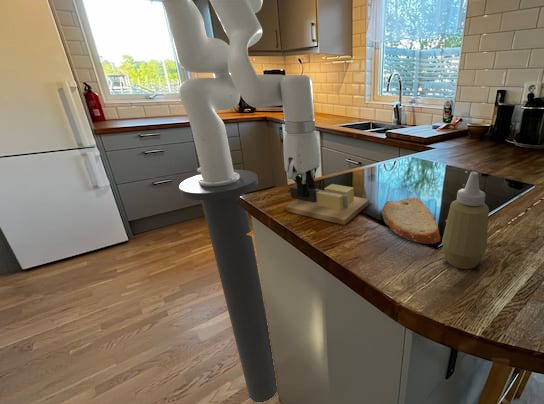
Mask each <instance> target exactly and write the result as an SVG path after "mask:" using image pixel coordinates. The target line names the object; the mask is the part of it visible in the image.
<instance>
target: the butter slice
mask: <svg viewBox="0 0 544 404" xmlns="http://www.w3.org/2000/svg"><path fill="white" fill-rule="evenodd" d="M323 191H324V190H323ZM323 191H319V192H317V200H318V206H322V207H326V208H331V209H336V210H342V209H343V195H339V194H334V193H329V192H323Z"/></svg>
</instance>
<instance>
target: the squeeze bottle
mask: <svg viewBox="0 0 544 404" xmlns="http://www.w3.org/2000/svg"><path fill="white" fill-rule="evenodd" d="M485 201H486V193H485V192H484V191H482V190H481V189H480V179H479V173H478V172H477V171H471V172H470V174H469V176H468V179H467V182H466V183H465V187H464V188H460V189H458V190H457V193H456V199H455V200H453V201H451V203H450V204H449V205H450V206H449V210H448V214H447V218H446V223H445V227H444V231H443V235H442V240H441V243H442V247H443V251H444V255H445V259H446V262H447V263H448V264H449V265H451V266H453V267H455V268H458V269H462V270H469V269H474V268H475V267H477V266H478V264H479V263H480V261H481V259H482V258H483V257H484V255H485V254H486V251H487V247H488V246H487V245H488V231H489V211H490V208H489V207H488V205H487V204H486V203H485Z"/></svg>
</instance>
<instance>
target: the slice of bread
mask: <svg viewBox="0 0 544 404" xmlns="http://www.w3.org/2000/svg"><path fill="white" fill-rule="evenodd" d="M381 216H382V219H383V222H384V224H385V225H386V226H387V227H389V230H390V231H392V232H393V233H394V234H395V235H398V236H399V237H401V238H403V239H405V240H408V241H410V242H413V243H418V244H423V245H433V244H437V243H439V242H440V241H441V235H440V229H439V226H438V223H437V221H436V219H435V217H434V216H433V214H432V212H431V211H430V209H429V208H428V207H427V205H426V204H425V203H424V202H423V201H422V200H421V199H419V198H418V197H408V198H403V199H399V200H396V201H395V200H394V201H393V200H388V201H386V202H384V205H383V207H382V210H381Z"/></svg>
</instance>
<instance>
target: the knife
mask: <svg viewBox="0 0 544 404" xmlns="http://www.w3.org/2000/svg"><path fill="white" fill-rule="evenodd" d="M319 191H323V192H328V191H324V189H323V190H322V189H319V188H316V187H315V188H310V187H308V197H307V198H306V197H301V196H298V191H297V184H293V185H291V186H290V187H289V192H290V193H289V194H290V198H291V199H295V200H298V199H299V200H304V201H309V202H316V201H317V202H318V200H317V192H319ZM329 193H334V192H329ZM334 194H339V193H334ZM339 195H343V207H347V208H348V195H345V194H339Z"/></svg>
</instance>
